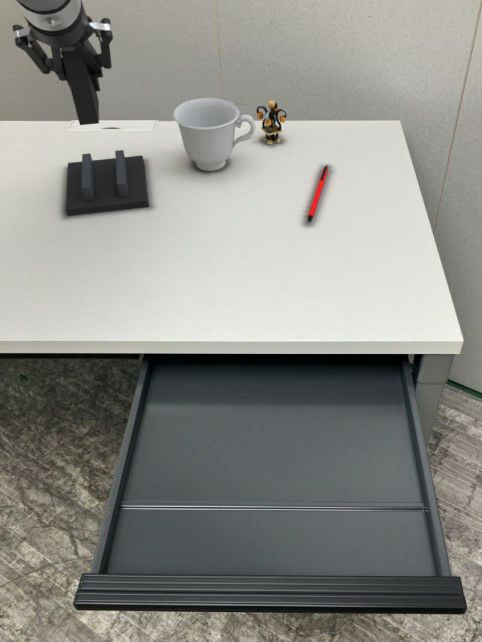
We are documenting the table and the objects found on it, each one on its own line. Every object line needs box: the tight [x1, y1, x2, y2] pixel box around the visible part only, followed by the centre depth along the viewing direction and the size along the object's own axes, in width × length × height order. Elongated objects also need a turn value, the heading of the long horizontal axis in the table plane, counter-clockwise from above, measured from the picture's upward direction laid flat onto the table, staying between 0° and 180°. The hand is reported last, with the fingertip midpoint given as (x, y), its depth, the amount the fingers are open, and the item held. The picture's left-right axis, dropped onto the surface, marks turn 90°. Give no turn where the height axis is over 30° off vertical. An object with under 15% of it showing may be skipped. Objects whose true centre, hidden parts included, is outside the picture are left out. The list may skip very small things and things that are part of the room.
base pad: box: [65, 149, 150, 217], centre depth 107 cm, size 14×16×4 cm
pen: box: [307, 164, 329, 224], centre depth 107 cm, size 1×19×1 cm, turn 168°
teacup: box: [172, 97, 256, 172], centre depth 110 cm, size 12×15×10 cm
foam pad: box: [60, 47, 100, 126], centre depth 93 cm, size 3×8×11 cm, turn 12°
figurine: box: [255, 100, 288, 145], centre depth 117 cm, size 5×5×8 cm
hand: (85, 83), depth 97 cm, fingers closed on foam pad, 3 cm apart
